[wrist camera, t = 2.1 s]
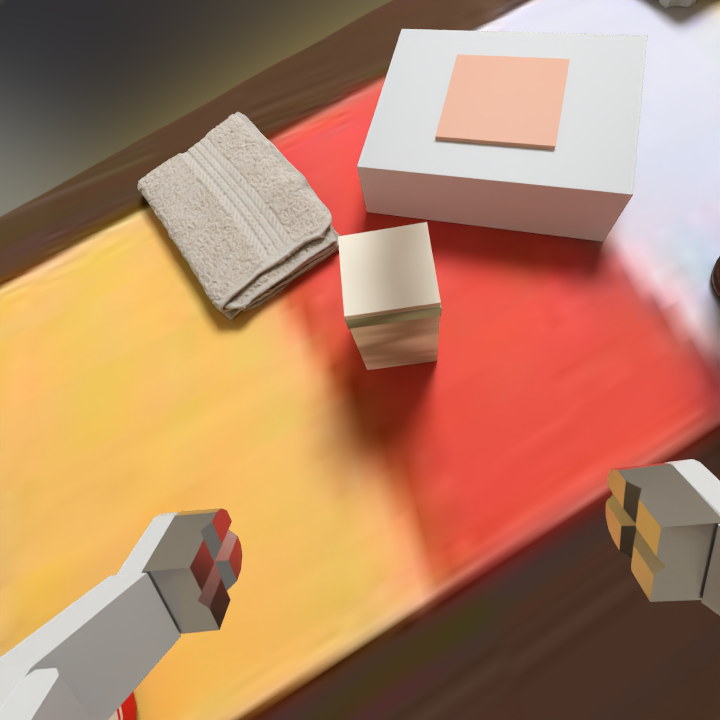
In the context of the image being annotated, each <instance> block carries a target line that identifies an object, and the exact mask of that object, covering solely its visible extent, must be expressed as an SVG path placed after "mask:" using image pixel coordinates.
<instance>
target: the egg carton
mask: <svg viewBox="0 0 720 720" xmlns="http://www.w3.org/2000/svg"><path fill="white" fill-rule="evenodd" d="M696 2H697V0H659V2H658V3H659V4H660V5H662V6H663V7H665V8H669V7H673V6H682V7H685V8H686V7H690V6H692V5H693V4H695V3H696Z"/></svg>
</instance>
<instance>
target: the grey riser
mask: <svg viewBox="0 0 720 720" xmlns="http://www.w3.org/2000/svg"><path fill="white" fill-rule="evenodd" d="M646 47H647V36H640V35H604V34H567V33H530V32H493V31H456V30H419V29H402V30H401V33H400V36H399V39H398V42H397V46H396V49H395V52H394V55H393V58H392V61H391V64H390V67H389V70H388V73H387V76H386V79H385V82H384V86H383V89H382V92H381V95H380V98H379V101H378V104H377V107H376V110H375V113H374V116H373V119H372V122H371V125H370V129H369V132H368V135H367V138H366V141H365V144H364V147H363V150H362V153H361V156H360V159H359V162H358V165H357V168H358V173H359V178H360V183H361V188H362V193H363V197H364V202H365V207H366V212H370V213H378V214H386V215H394V216H402V217H410V218H418V219H426V220H434V221H442V222H450V223H458V224H466V225H474V226H482V227H490V228H498V229H506V230H514V231H522V232H530V233H538V234H546V235H553V236H561V237H569V238H577V239H585V240H593V241H601V242H603V241H604V239H605V238H606V236H607V235H608V233H609V232H610V230H611V228H612V227H613V225H614V224H615V222H616V221H617V219H618V217H619V216H620V214H621V213H622V211H623V210H624V208H625V206H626V205H627V203H628V202H629V200H630V199H631V197H632V195H633V190H634V179H635V168H636V157H637V146H638V135H639V124H640V113H641V102H642V91H643V80H644V69H645V58H646Z"/></svg>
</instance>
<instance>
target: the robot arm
mask: <svg viewBox="0 0 720 720" xmlns="http://www.w3.org/2000/svg"><path fill="white" fill-rule="evenodd" d="M607 485H608V486H609V488H610V489H611V491H612V492H613V495H612V496H611V497H610V498H609V499H608V500H607V501H606V519H607V523H608V528H609V531H610V533H611V536H612V538H613V540H614V542H615V544H616V545H617V547H618V549H619V550H620V551H621V552H623V553H624V554H626V555H628V556H629V557H631V558H632V566H631V571H632V572H633V574H634V576H635V577H636V579H637V580H638V582H639V584H640V585H641V587H642V589H643V590H644V592H645V594H646V595H647V597H648V599H649V600H650V602H654V601H681V600H702V603H703V604H705V605H706V606H707V607H709V608H710V609H711V610H713V611H714V612H715V613H717V614H718V615H720V481H719V480H718V479H717V478H716V477H715V476H714V475H713V474H712V473H711V472H710V471H709V470H708V469H707V468H706V467H704V466H703V465H702V464H701V463H700V462H698V461H696V460H694V459H691V460H682V461H674V462H665V463H664V464H663V463H660V464H651V465H642V466H633V467H624V468H614V469H611V470H610V472H609V474H608V482H607ZM231 522H232V521H231V519H230V517H229V514H228V512H227V510H224V509H208V510H195V511H182V512H175V513H161V514H159V515H157V516H156V517H154V518H153V520H152V521H151V523H150V524H149V526H148V527H147V529H146V530H145V532H144V534H143V535H142V537H141V538H140V540H139V541H138V543H137V544H136V546H135V547H134V549H133V550H132V552H131V553H130V555H129V557H128V558H127V560H126V561H125V563H124V564H123V566H122V567H121V569H120V570H119V572H118V573H117V575H112V576H109V577H107V578H106V579H105V580H103V581H102V582H101V583H99V584H98V585H97V586H95V587H94V588H93V589H91V590H90V591H89V592H87V593H86V594H85V595H83V596H82V597H81V598H79V599H78V600H77V601H75V602H74V603H73V604H71V605H70V606H69V607H67V608H66V609H65V610H63V611H62V612H61V613H59V614H58V615H57V616H55V617H54V618H53V619H51V620H50V621H48V622H47V623H46V624H44V625H43V626H42V627H40V628H39V629H38V630H36V631H35V632H34V633H32V634H31V635H30V636H28V637H27V638H26V639H24V640H23V641H22V642H20V643H19V644H18V645H16V646H15V647H14V648H12V649H11V650H10V651H8V652H7V653H6V654H4V655H3V656H2V657H0V720H109V718H110V717H111V716H112V715H113V714H114V713H115V711H116V710H117V709H118V708H119V707H120V706H121V705H122V703H123V702H124V701H125V700H126V699H127V698H128V696H129V695H130V694H131V693H132V692H133V691H134V690H135V688H136V687H137V686H138V685H139V684H140V683H141V681H142V680H143V679H144V678H145V677H146V676H147V675H148V673H149V672H150V671H151V670H152V669H153V668H154V667H155V665H156V664H157V663H158V662H159V661H160V660H161V658H162V657H163V656H164V655H165V654H166V653H167V652H168V650H169V649H170V648H171V647H172V646H173V645H174V643H175V642H176V641H177V640H178V639H179V638H180V637H181V635H180V634H183V633H193V632H203V631H213V630H220V627H221V624H222V622H223V619H224V616H225V613H226V610H227V608H228V605H229V602H230V598H229V595H228V593H227V590H228V589H229V588H230V587H231V586H232V585H233V584H234V583H235V582H236V581H237V579H238V576H239V573H240V570H241V562H242V550H241V544H240V541H239V539H238V536H237V535H235V534H234V533H233V532H231V531H230V530H228V529H229V527H230V524H231Z"/></svg>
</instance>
